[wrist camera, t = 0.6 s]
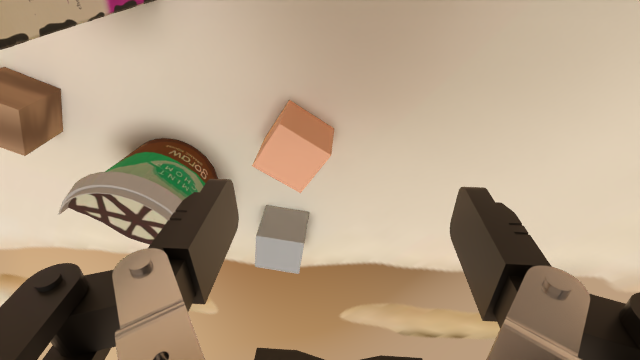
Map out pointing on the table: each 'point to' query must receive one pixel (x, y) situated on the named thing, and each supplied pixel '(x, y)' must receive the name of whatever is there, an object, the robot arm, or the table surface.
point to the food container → (142, 188)
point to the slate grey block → (281, 239)
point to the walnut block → (27, 112)
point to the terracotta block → (295, 147)
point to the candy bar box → (51, 16)
